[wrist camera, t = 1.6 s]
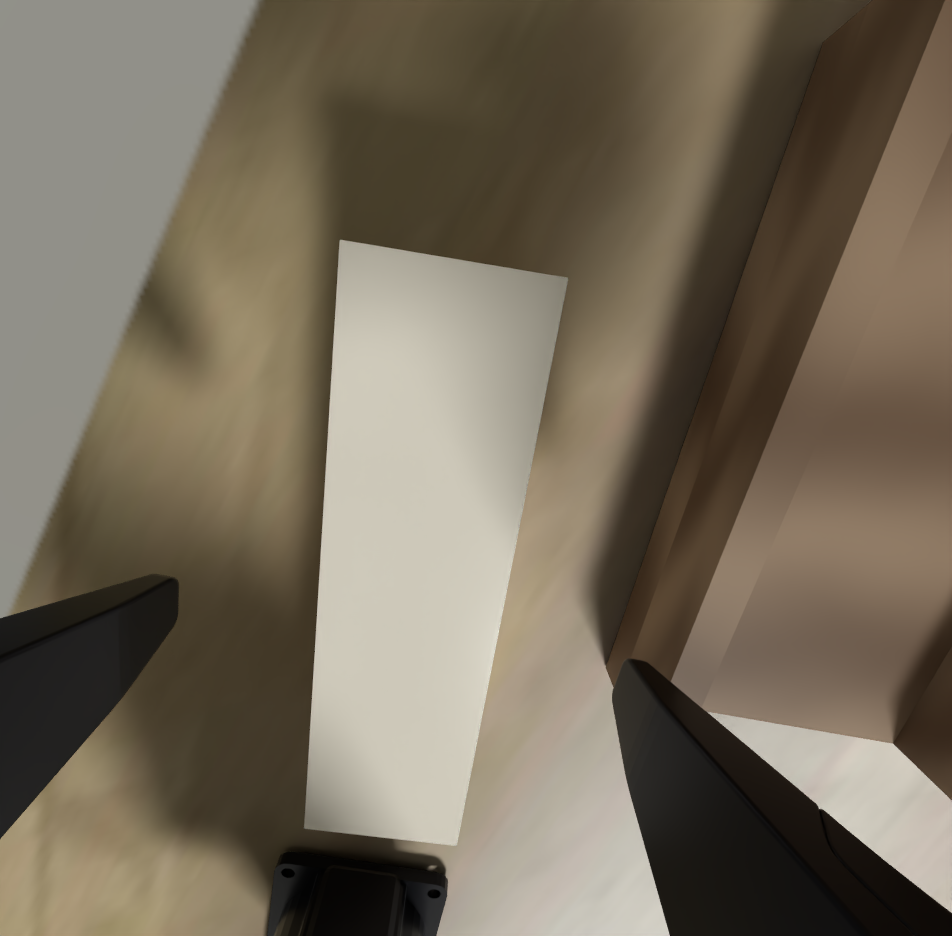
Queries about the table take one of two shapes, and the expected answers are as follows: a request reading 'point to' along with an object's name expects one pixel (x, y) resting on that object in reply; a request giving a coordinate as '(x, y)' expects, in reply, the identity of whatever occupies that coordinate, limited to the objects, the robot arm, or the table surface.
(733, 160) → the table surface
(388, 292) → the clay strip
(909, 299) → the drying rack
